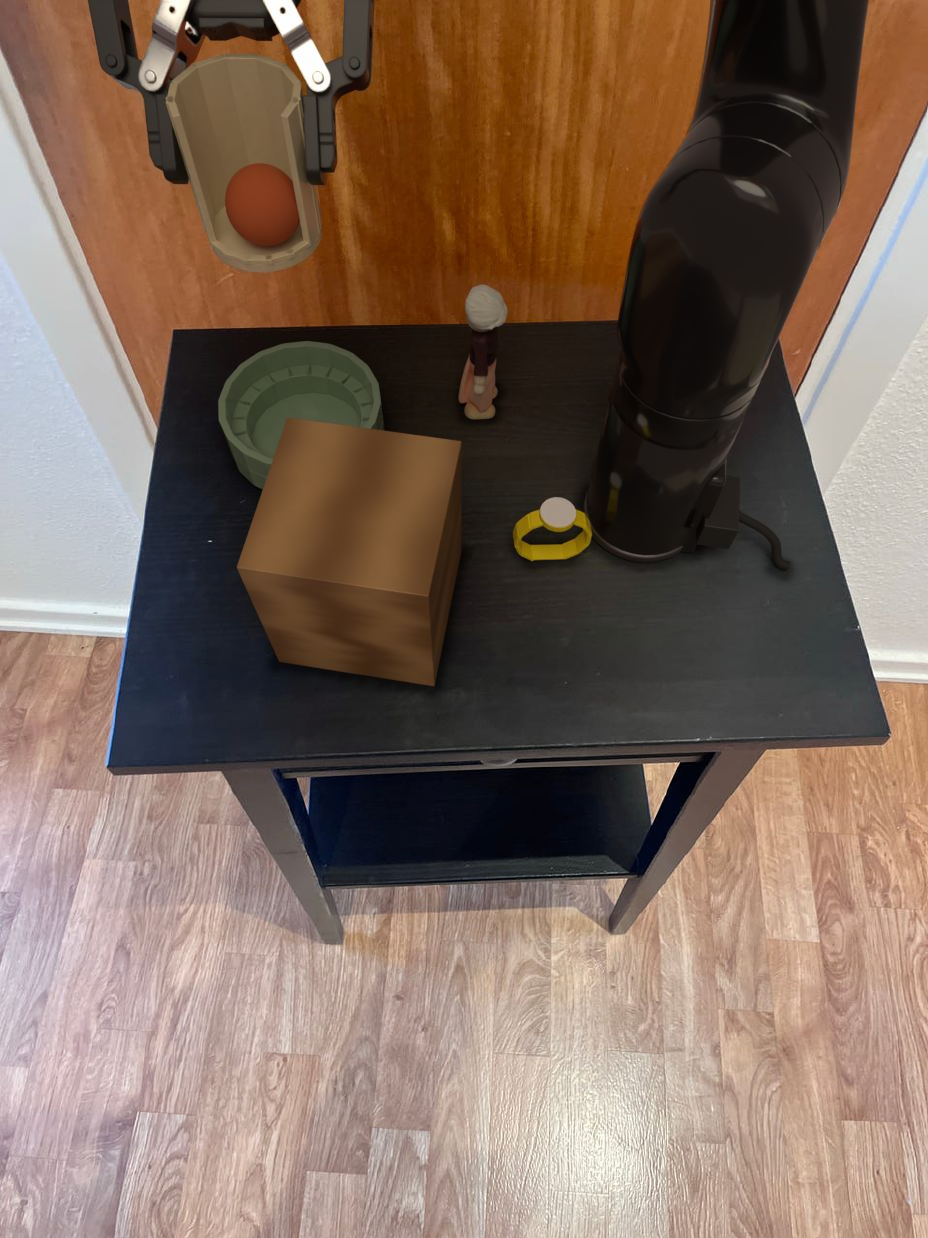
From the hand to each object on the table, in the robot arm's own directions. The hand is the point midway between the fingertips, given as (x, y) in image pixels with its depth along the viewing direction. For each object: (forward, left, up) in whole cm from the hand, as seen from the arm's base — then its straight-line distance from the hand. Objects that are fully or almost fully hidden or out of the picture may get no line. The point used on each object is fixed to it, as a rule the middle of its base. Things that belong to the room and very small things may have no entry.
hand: (247, 181), depth 44 cm
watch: (-18, +1, -31) cm, 36 cm away
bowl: (+4, -7, -30) cm, 32 cm away
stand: (-5, +8, -30) cm, 32 cm away
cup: (0, -2, -4) cm, 5 cm away
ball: (0, -1, -2) cm, 2 cm away
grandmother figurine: (-11, -14, -31) cm, 35 cm away
